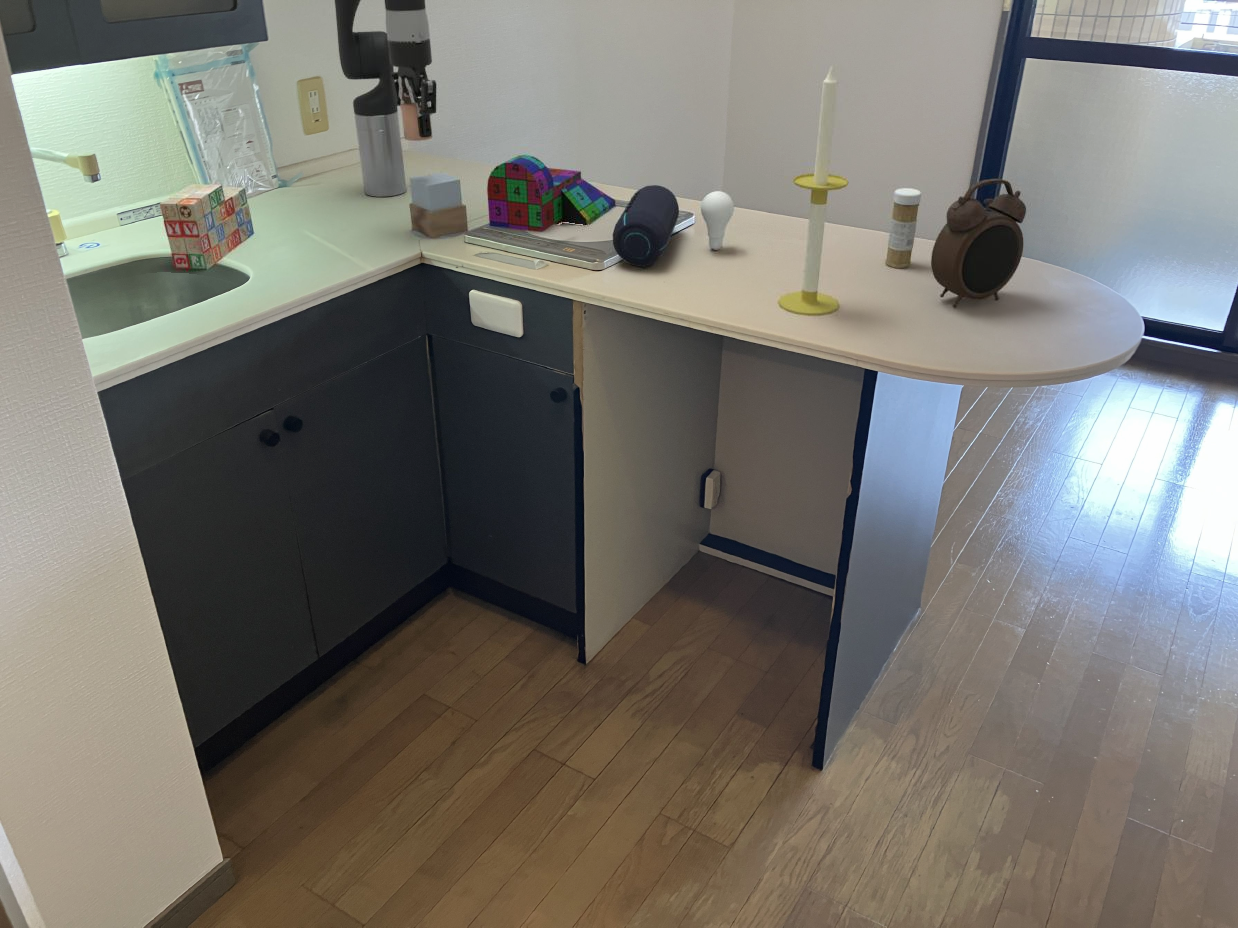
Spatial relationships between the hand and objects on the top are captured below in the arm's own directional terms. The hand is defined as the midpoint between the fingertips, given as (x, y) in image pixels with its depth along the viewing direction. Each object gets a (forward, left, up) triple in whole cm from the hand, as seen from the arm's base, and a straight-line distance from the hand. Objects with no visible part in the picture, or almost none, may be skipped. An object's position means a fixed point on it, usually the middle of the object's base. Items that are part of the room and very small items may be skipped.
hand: (418, 133), depth 189 cm
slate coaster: (+1, +2, -20) cm, 20 cm away
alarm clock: (+88, +53, -20) cm, 104 cm away
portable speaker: (+33, +28, -20) cm, 48 cm away
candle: (+72, +31, -20) cm, 81 cm away
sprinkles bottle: (+69, +58, -20) cm, 92 cm away
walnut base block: (+1, +2, -19) cm, 19 cm away
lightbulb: (+42, +38, -20) cm, 60 cm away
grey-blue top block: (+1, +2, -14) cm, 14 cm away
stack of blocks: (-18, -36, -20) cm, 45 cm away
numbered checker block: (+6, +26, -20) cm, 34 cm away
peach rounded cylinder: (0, 0, -1) cm, 1 cm away
